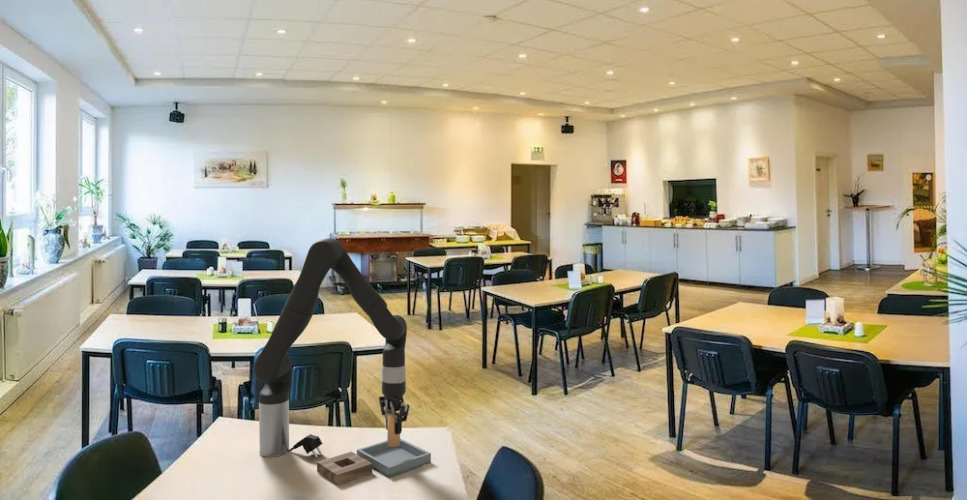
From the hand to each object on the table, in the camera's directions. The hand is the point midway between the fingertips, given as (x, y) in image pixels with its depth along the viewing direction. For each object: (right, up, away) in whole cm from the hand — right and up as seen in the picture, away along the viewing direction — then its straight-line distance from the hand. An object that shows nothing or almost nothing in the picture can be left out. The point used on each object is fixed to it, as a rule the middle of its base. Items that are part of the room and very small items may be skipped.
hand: (393, 431), depth 194 cm
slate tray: (0, -10, +1) cm, 10 cm away
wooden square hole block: (-14, -10, -8) cm, 19 cm away
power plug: (-30, -9, +5) cm, 32 cm away
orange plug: (0, -4, 0) cm, 4 cm away
